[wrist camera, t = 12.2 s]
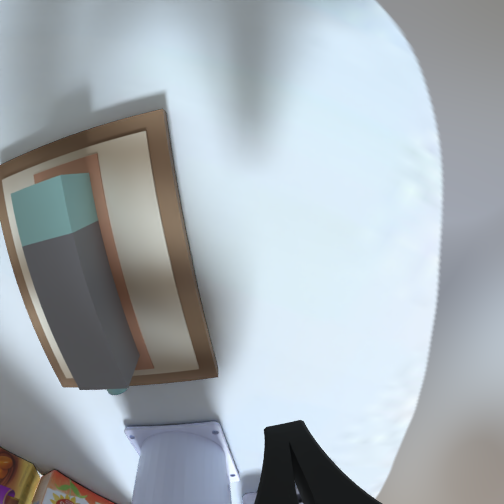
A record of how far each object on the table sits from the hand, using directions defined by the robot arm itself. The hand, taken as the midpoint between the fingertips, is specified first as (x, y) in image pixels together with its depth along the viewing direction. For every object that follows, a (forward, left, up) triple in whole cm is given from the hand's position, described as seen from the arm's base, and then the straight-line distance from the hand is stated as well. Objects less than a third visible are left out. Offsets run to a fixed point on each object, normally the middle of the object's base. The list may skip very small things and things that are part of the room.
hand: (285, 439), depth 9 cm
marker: (+5, +9, -8) cm, 13 cm away
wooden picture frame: (+5, +9, -9) cm, 14 cm away
